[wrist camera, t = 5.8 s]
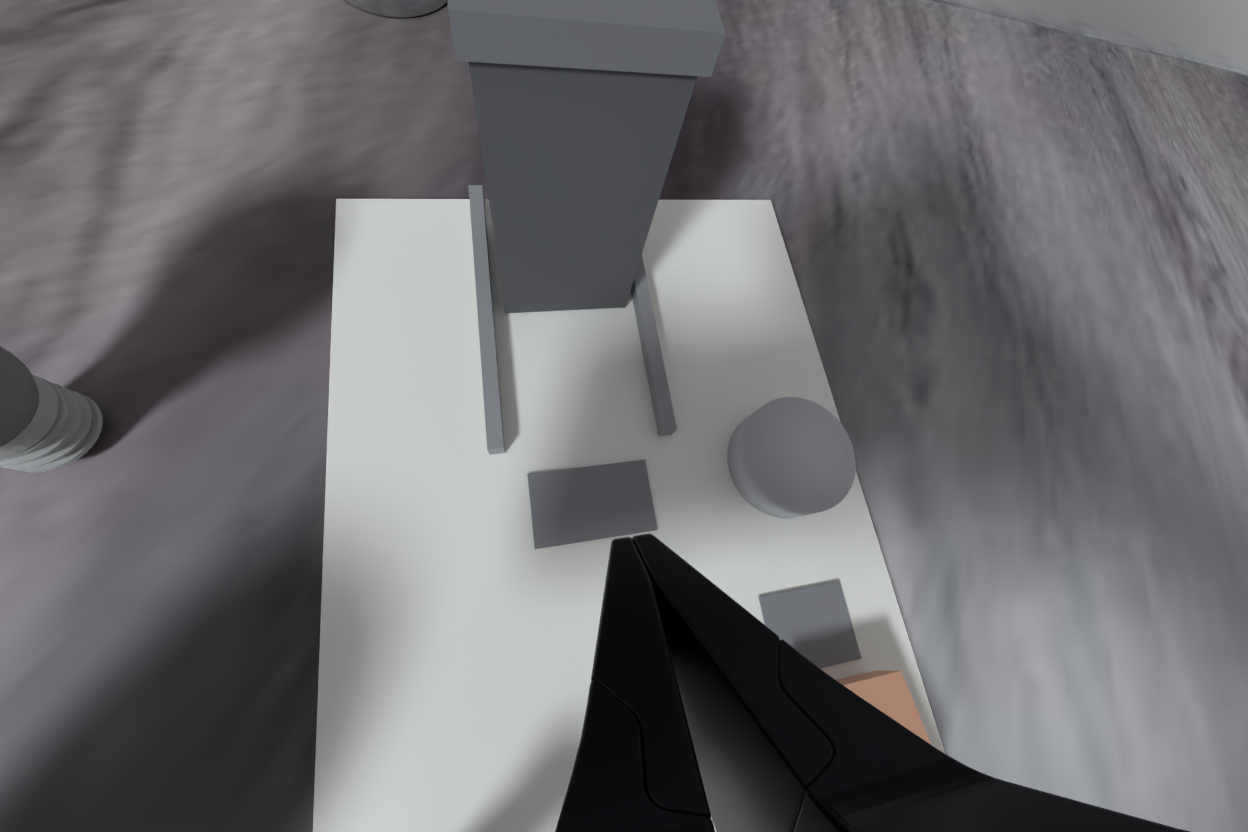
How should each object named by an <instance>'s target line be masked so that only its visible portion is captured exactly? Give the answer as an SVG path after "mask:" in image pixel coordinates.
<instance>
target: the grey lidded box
mask: <svg viewBox="0 0 1248 832" xmlns="http://www.w3.org/2000/svg"><path fill="white" fill-rule="evenodd" d="M447 1H448V12H449V18H450V24H451V30H452V36H453V42H454V48H455V54H456V60H457V61H466V62H469V66H470V73H471V80H472V87H473V94H474V101H475V108H476V115H477V122H478V129H479V136H480V143H481V150H482V157H483V163H484V170H485V177H486V184H487V191H488V198H489V205H490V212H491V219H492V226H493V233H494V240H495V247H496V254H497V261H498V267H499V274H500V281H501V288H502V295H503V302H504V309H505V313H523V312H543V311H564V310H584V309H605V308H625V306H626V303H627V299H628V296H629V293H630V290H631V287H632V283H633V280H634V277H635V274H636V271H637V268H638V264H639V261H640V258H641V255H642V252H643V248H644V245H645V242H646V239H647V236H648V232H649V229H650V226H651V223H652V220H653V217H654V213H655V210H656V207H657V204H658V201H659V197H660V194H661V191H662V188H663V185H664V181H665V178H666V175H667V172H668V169H669V165H670V162H671V159H672V156H673V153H674V150H675V146H676V143H677V140H678V137H679V134H680V130H681V127H682V124H683V121H684V118H685V114H686V111H687V108H688V105H689V102H690V99H691V95H692V92H693V89H694V86H695V83H696V79H697V76H703V77H711V75H712V73H713V70H714V67H715V64H716V61H717V58H718V55H719V52H720V49H721V46H722V43H723V40H724V37H725V34H726V32H725V29H724V26H723V23H722V19H721V16H720V13H719V10H718V7H717V4H716V1H715V0H447Z"/></svg>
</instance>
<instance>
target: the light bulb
mask: <svg viewBox="0 0 1248 832" xmlns="http://www.w3.org/2000/svg"><path fill="white" fill-rule="evenodd" d="M102 424H103V419H102V413H101V411H100V408H99V407H98V406H97V404H96V403H95V402H94V401H93V400H92V399H90V398H89V397H87V396H85V395H83V394H81V393H78V392H75V391H73V390H71V389H67V388H64V387H62V386H60V385H58V384H54V383H51V382H49V381H47V380H45V379H42V378H39V377H37V376H34V375H32V374H31V372H30V371H29V369H28V368H27V367H26V366H25V365H24V364H23V363H22V362H21V361H20V360H19V359H18V358H17V357H15V356H14V355H13V354H12V353H10V352H9V351H7V350H5V349H4V348H2V347H0V467H3V468H8V469H14V470H18V471H23V472H34V473H38V472H48V471H52V470H56V469H59V468H62V467H64V466H67V465H69V464H71V463H73V462H74V461H76V460H78V459H79V458H81V457H82V456H83V455H84V454H86V453H87V452H88V451H89V450H90V449H91V448H92V447H93V445H94V444H95V442H96V441H97V439H98V438H99V435H100V433H101V430H102Z"/></svg>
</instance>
